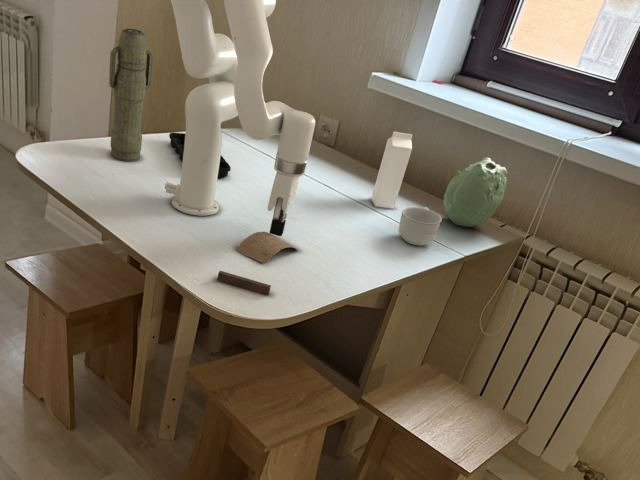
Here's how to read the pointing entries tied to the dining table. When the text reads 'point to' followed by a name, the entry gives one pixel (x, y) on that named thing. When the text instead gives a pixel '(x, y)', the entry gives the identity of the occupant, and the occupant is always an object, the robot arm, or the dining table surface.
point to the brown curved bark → (261, 246)
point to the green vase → (475, 193)
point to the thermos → (129, 93)
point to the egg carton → (178, 145)
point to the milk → (392, 170)
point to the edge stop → (244, 282)
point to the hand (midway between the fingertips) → (276, 233)
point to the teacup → (419, 225)
